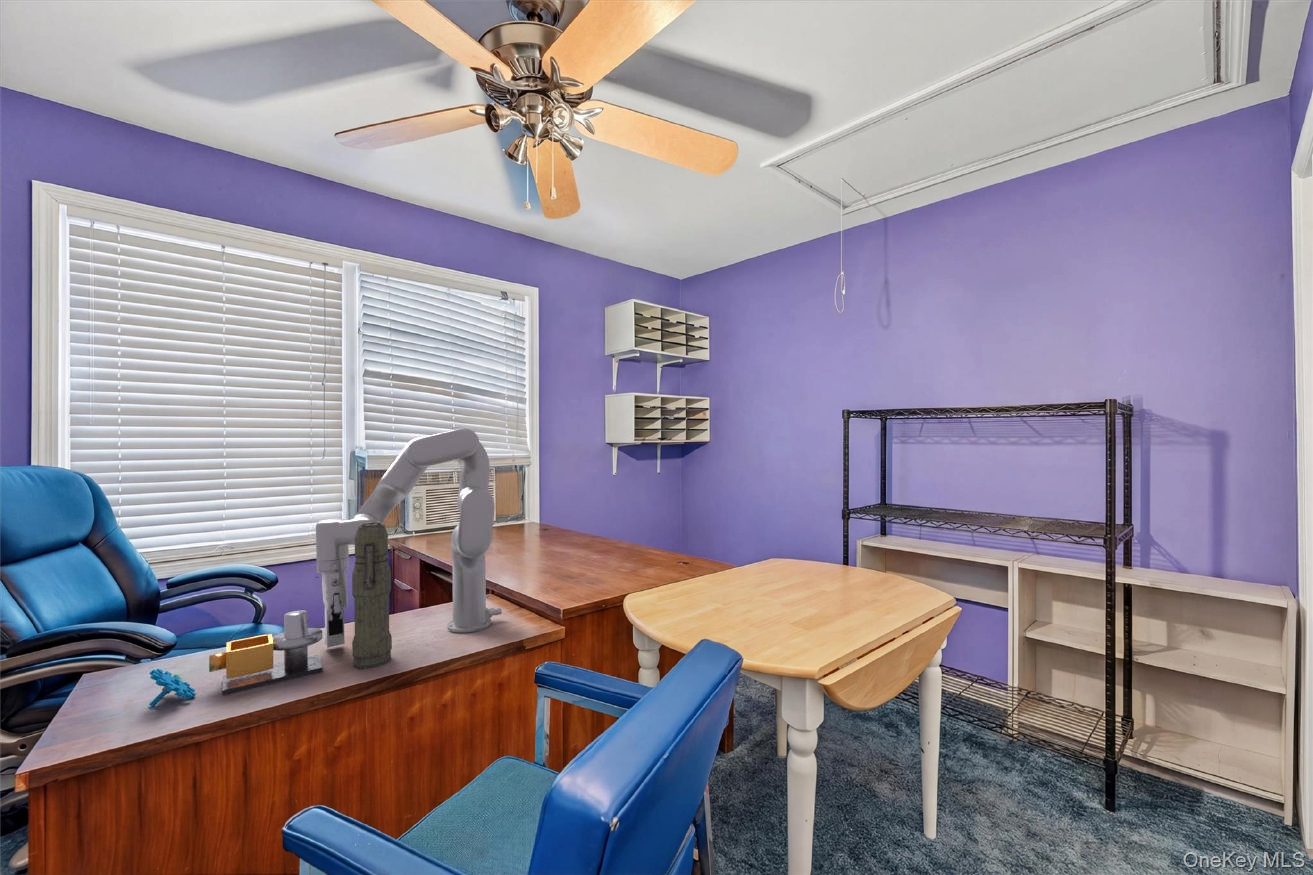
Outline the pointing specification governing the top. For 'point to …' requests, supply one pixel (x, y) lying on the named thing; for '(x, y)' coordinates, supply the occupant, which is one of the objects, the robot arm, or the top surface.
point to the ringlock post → (269, 656)
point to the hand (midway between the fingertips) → (334, 631)
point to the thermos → (371, 597)
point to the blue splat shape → (170, 685)
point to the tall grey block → (334, 639)
